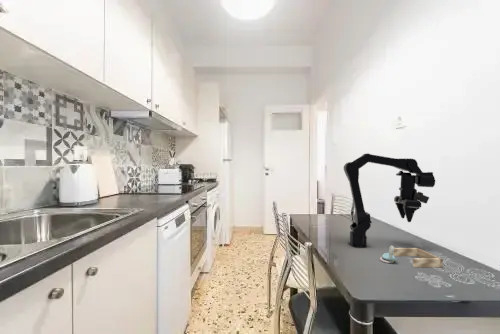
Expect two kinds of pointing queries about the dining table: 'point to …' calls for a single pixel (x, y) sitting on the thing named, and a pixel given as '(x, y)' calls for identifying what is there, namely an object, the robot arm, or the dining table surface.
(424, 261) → the box
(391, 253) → the pacifier
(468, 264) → the dining table surface
